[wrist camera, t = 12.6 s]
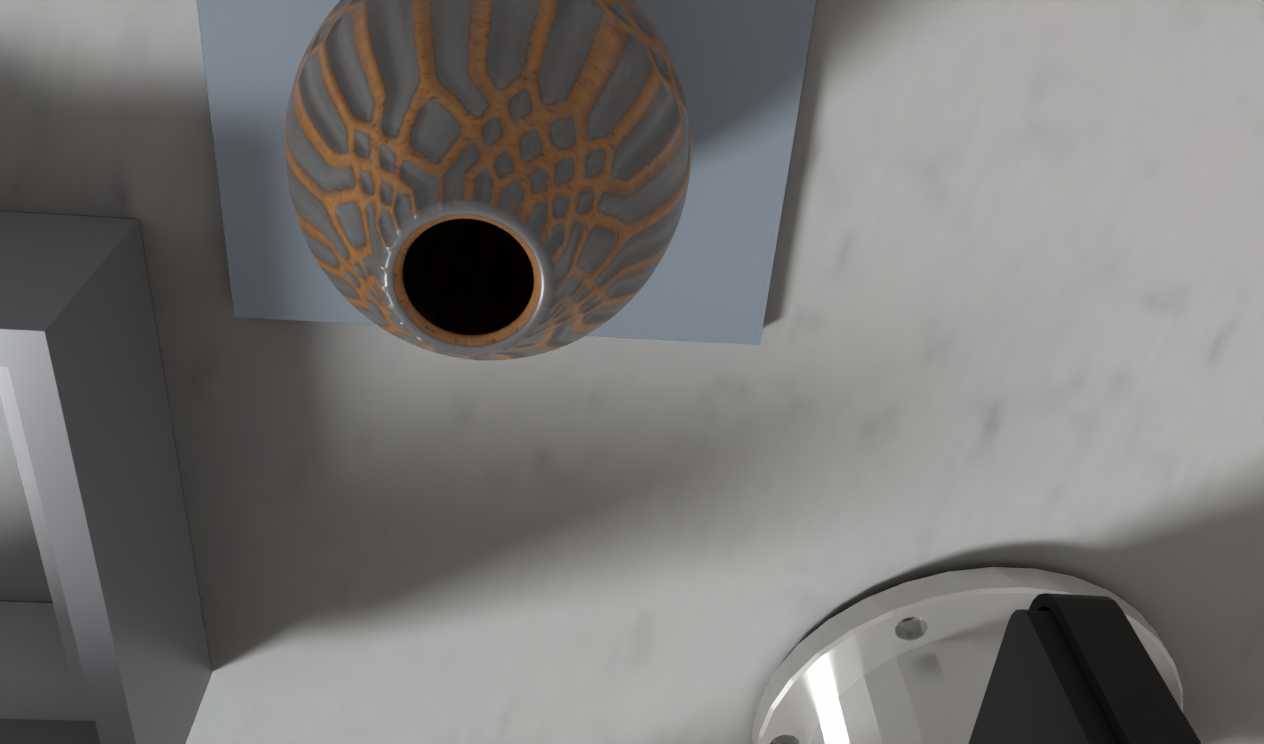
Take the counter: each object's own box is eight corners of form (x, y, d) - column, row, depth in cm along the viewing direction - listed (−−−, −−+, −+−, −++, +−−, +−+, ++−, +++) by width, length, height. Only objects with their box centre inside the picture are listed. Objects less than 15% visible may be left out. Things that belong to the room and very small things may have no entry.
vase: (269, 118, 23) (115, 328, 15) (456, -179, 20) (381, -101, 12) (544, 298, 25) (529, 556, 18) (745, 54, 22) (826, 237, 15)
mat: (848, -242, 20) (855, -240, 20) (756, 332, 26) (759, 344, 26) (171, -304, 19) (160, -304, 19) (241, 304, 26) (234, 316, 25)
